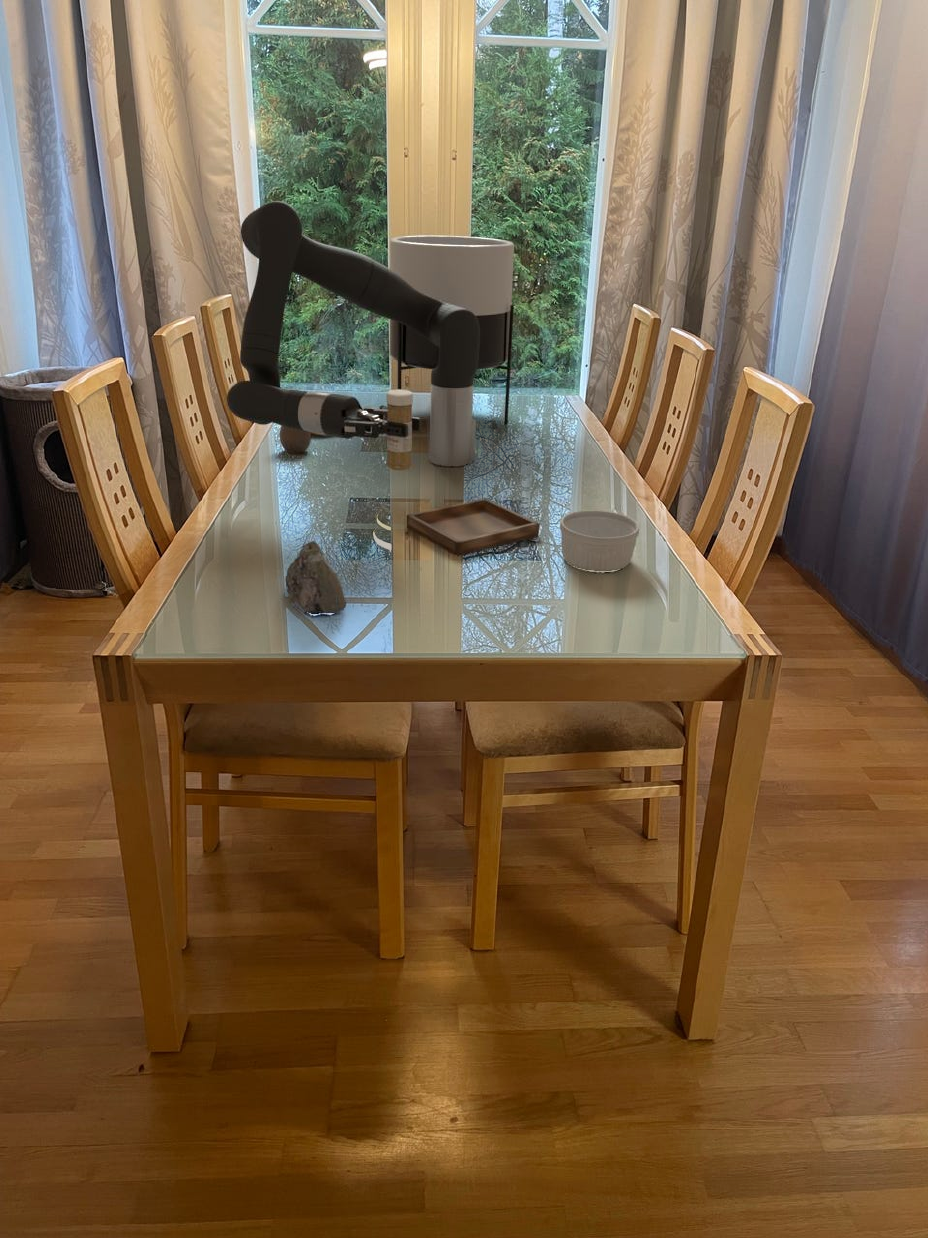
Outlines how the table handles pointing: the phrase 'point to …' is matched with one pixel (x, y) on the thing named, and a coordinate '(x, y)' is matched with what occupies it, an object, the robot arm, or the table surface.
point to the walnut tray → (472, 526)
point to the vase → (294, 440)
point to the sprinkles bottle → (402, 413)
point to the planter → (457, 295)
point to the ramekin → (598, 539)
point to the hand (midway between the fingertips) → (413, 427)
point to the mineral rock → (314, 582)
